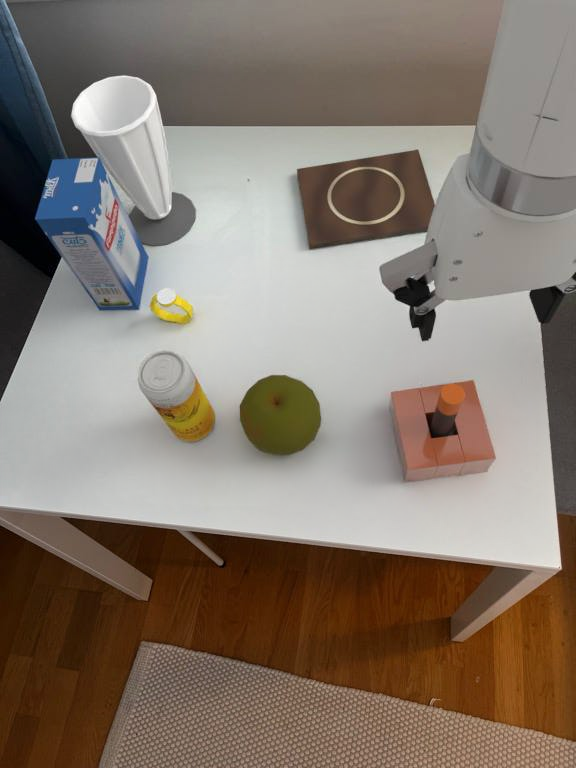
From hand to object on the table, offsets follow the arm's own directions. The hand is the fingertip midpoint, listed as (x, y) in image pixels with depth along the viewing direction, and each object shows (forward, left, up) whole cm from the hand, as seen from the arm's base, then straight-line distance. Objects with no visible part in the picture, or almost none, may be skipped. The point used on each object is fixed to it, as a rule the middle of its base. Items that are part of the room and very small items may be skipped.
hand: (479, 317), depth 48 cm
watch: (+33, -24, -28) cm, 50 cm away
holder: (0, 0, -28) cm, 28 cm away
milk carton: (+41, -32, -28) cm, 59 cm away
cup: (+35, -44, -28) cm, 63 cm away
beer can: (+31, -7, -28) cm, 43 cm away
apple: (+19, -4, -28) cm, 34 cm away
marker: (0, 0, -28) cm, 28 cm away
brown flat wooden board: (+2, -41, -28) cm, 50 cm away
